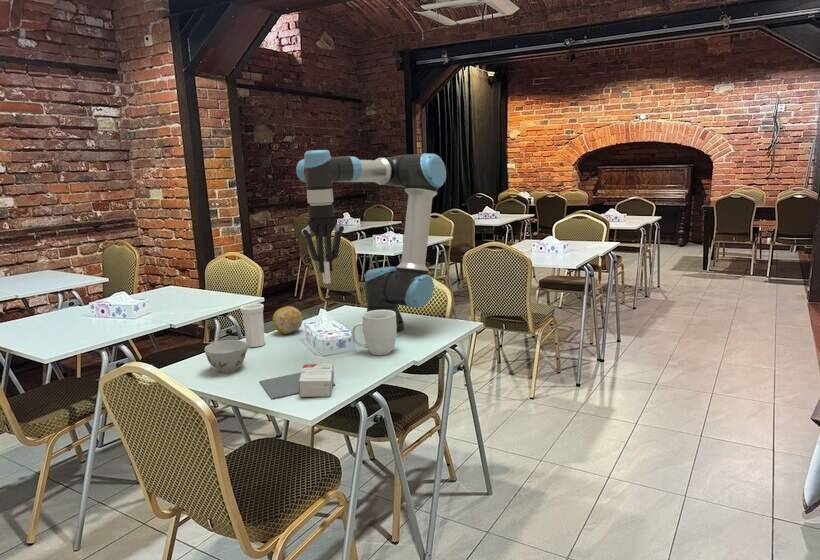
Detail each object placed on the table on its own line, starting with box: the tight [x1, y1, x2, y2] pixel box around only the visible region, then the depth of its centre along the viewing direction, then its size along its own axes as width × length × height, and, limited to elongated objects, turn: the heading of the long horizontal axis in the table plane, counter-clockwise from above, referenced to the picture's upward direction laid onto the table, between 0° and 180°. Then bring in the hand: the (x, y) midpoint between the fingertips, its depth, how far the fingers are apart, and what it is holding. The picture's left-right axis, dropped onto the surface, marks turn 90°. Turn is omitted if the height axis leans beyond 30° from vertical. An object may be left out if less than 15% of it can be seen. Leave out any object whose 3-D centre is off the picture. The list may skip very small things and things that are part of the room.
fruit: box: [272, 305, 303, 335], centre depth 216 cm, size 10×11×10 cm
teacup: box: [204, 339, 249, 374], centre depth 181 cm, size 15×12×8 cm
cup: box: [239, 303, 266, 348], centre depth 203 cm, size 8×8×14 cm
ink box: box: [299, 362, 335, 398], centre depth 161 cm, size 9×5×12 cm
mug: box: [351, 310, 398, 356], centre depth 189 cm, size 15×11×13 cm
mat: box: [259, 371, 336, 400], centre depth 166 cm, size 18×15×1 cm
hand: (326, 282), depth 174 cm, fingers closed
